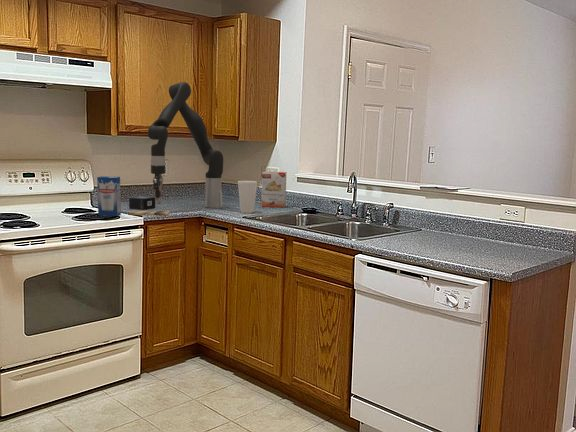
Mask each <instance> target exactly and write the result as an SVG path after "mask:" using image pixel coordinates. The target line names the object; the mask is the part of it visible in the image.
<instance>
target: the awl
mask: <svg viewBox="0 0 576 432" xmlns="http://www.w3.org/2000/svg"><path fill="white" fill-rule="evenodd" d="M155 191H156V190H154V192H155ZM161 198H162V190H161V187H160V197H159V198H156V197H155V205H161V204H162V203H161Z"/></svg>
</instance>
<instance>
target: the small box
mask: <svg viewBox="0 0 576 432" xmlns="http://www.w3.org/2000/svg"><path fill="white" fill-rule="evenodd" d="M128 208H129V209H131V210H141V209H142V210H141V211H145V210H149V209H150V208H151V209H155V208H156V197H155V196H143V195H142V196H134V197H129V198H128ZM144 209H145V210H144Z"/></svg>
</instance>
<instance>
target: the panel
mask: <svg viewBox="0 0 576 432" xmlns="http://www.w3.org/2000/svg"><path fill="white" fill-rule="evenodd" d="M145 214H151V215H150V216H168V215H170V214H171V211H170V210H131V211H130V212H128V216H146V215H145Z"/></svg>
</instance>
